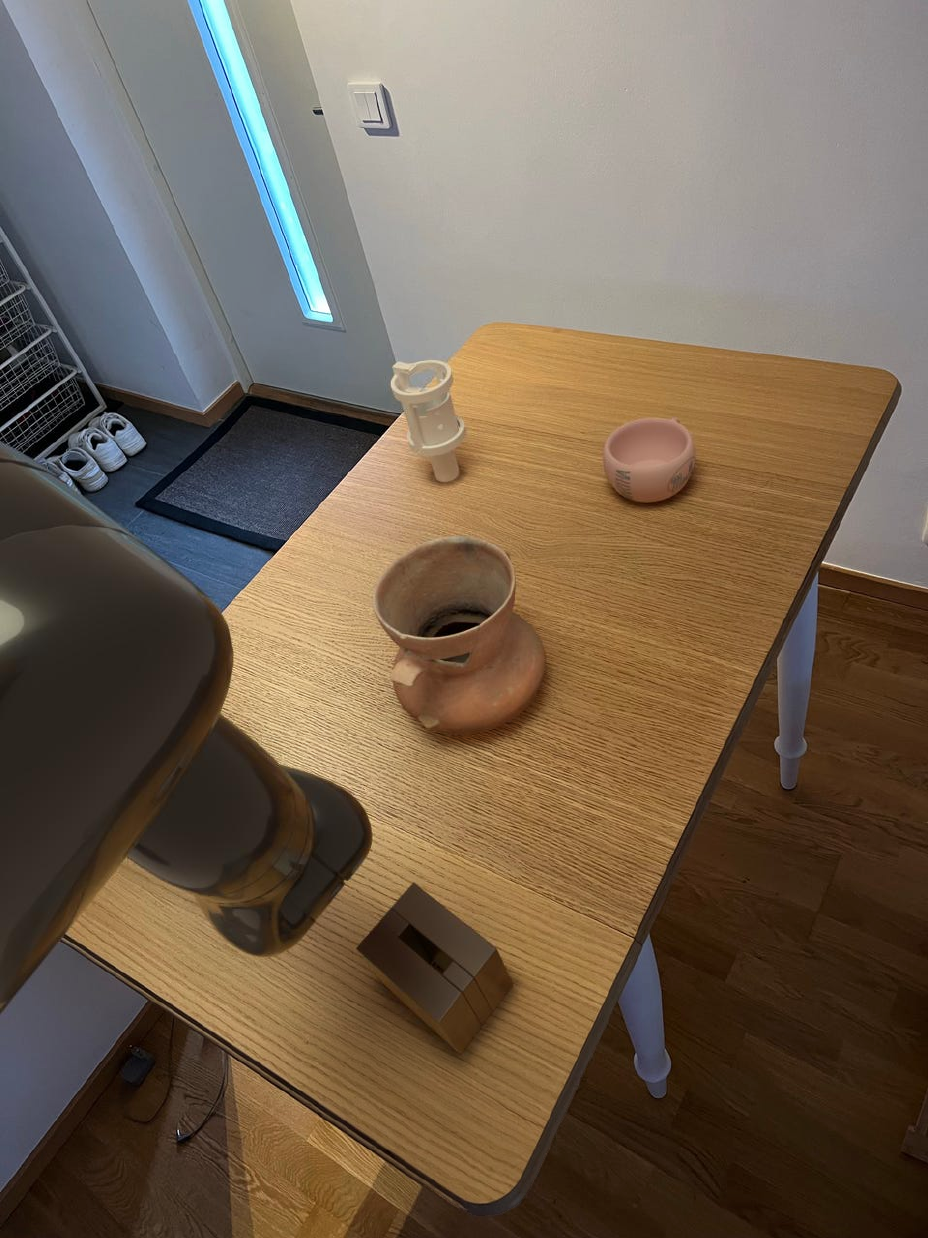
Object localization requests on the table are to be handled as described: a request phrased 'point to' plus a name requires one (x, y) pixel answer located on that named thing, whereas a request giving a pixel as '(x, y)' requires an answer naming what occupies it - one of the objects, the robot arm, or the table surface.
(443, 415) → the strainer
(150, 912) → the table surface
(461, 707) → the ceramic jug
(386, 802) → the table surface
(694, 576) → the table surface
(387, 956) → the knife block
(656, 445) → the mug
